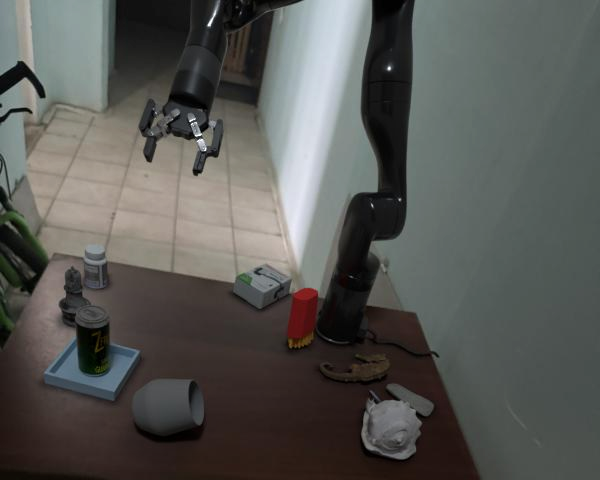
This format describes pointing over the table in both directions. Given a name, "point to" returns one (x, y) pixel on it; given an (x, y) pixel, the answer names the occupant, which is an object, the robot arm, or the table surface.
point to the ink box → (262, 285)
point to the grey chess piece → (72, 297)
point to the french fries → (302, 317)
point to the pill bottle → (95, 266)
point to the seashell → (390, 429)
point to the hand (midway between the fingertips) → (171, 167)
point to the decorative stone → (411, 399)
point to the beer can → (93, 340)
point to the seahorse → (361, 369)
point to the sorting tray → (105, 386)
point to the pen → (375, 397)
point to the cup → (168, 406)
